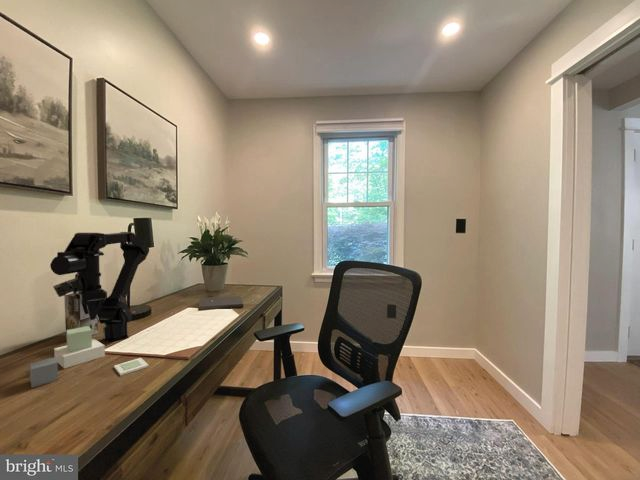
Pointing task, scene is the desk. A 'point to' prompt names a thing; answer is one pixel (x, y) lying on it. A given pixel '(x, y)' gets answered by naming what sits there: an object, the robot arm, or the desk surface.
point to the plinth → (79, 354)
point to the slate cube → (43, 372)
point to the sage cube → (79, 338)
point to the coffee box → (77, 315)
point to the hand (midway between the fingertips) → (89, 316)
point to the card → (130, 366)
